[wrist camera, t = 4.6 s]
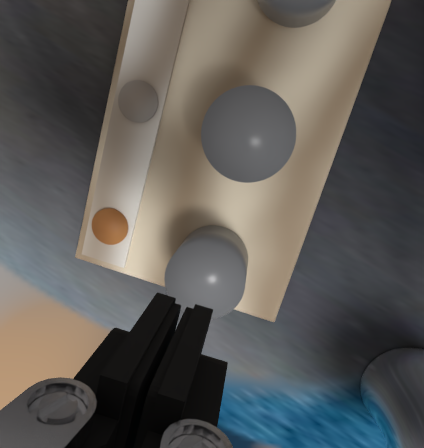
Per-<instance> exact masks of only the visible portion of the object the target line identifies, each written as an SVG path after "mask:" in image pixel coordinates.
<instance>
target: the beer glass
mask: <svg viewBox="0 0 424 448" xmlns="http://www.w3.org/2000/svg"><path fill="white" fill-rule="evenodd" d="M360 392H361V397H362V400H363V403H364V405H365V407H366V409H367V410H368V412H369V414H370V415H371V417H372V418H373V419H374V421H375V422H376V424H377V425H378V427H379V429H380V430H381V433H382V435H383V437H384V441H385V444H386V448H424V350H423V349H419V348H409V347H406V348H397V349H393V350H390V351H387V352H385V353H383V354H381V355H379V356H378V357H376V358H375V359H374V360H373V361H372V362H371V363H370V364H369V365H368V366H367V368H366V369H365V371H364V373H363V375H362V378H361V384H360Z"/></svg>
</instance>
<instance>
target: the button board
mask: <svg viewBox="0 0 424 448" xmlns="http://www.w3.org/2000/svg"><path fill="white" fill-rule="evenodd" d="M390 3H391V0H336V2H335V3H334V5H333V6H332V8H331V9H330V10H329V11H328V13H327V14H326V15H325V16H323V17H322V18H321V19H319V20H318V21H317V22H315V23H313V24H310V25H308V26H304V27H298V28H290V27H285V26H282V25H279V24H277V23H275V22H273V21H272V20H271V19H269V18H268V17H267V16H266V15H265V13H264V12H263V11H262V9H261V8H260V6H259V3H258V1H257V0H128V4H127V9H126V14H125V19H124V24H123V29H122V33H121V38H120V43H119V48H118V53H117V58H116V63H115V67H114V72H113V77H112V82H111V87H110V92H109V96H108V101H107V106H106V111H105V116H104V121H103V126H102V130H101V135H100V140H99V145H98V150H97V155H96V160H95V164H94V169H93V174H92V179H91V184H90V189H89V193H88V198H87V203H86V208H85V213H84V218H83V223H82V227H81V232H80V237H79V242H78V247H77V252H76V256H75V258H78V259H82V260H85V261H88V262H91V263H94V264H97V265H100V266H103V267H106V268H109V269H112V270H115V271H118V272H121V273H125V274H128V275H131V276H134V277H137V278H140V279H143V280H146V281H149V282H152V283H155V284H158V285H161V286H164V287H165V280H164V277H165V270H166V267H167V264H168V262H169V260H170V259H171V257H172V256H173V255H174V253H175V252H176V251H177V249H178V248H179V247H180V246H181V244H182V243H183V242H184V240H185V239H186V238H187V236H188V235H189V234H190V233H192V232H193V231H194V230H196V229H198V228H200V227H204V226H209V225H216V226H222V227H225V228H228V229H230V230H231V231H233V232H234V233H236V234H237V235H238V236H239V237H240V238H241V240H242V241H243V243H244V244H245V247H246V249H247V253H248V267H247V275H246V283H245V290H244V294H243V297H242V299H241V301H240V302H239V304H238V305H237V306H236V308H235V310H238V311H241V312H244V313H247V314H250V315H253V316H256V317H259V318H263V319H266V320H269V321H272V322H274V321H275V319H276V316H277V313H278V310H279V308H280V305H281V302H282V299H283V297H284V294H285V291H286V288H287V286H288V283H289V280H290V277H291V275H292V272H293V269H294V266H295V264H296V261H297V258H298V256H299V253H300V250H301V247H302V245H303V242H304V239H305V236H306V234H307V231H308V228H309V225H310V223H311V220H312V217H313V214H314V212H315V209H316V206H317V203H318V201H319V198H320V195H321V192H322V190H323V187H324V184H325V181H326V179H327V176H328V173H329V170H330V168H331V165H332V162H333V160H334V157H335V154H336V151H337V149H338V146H339V143H340V140H341V138H342V135H343V132H344V129H345V127H346V124H347V121H348V118H349V116H350V113H351V110H352V107H353V105H354V102H355V99H356V96H357V94H358V91H359V88H360V85H361V83H362V80H363V77H364V74H365V72H366V69H367V66H368V63H369V61H370V58H371V55H372V53H373V50H374V47H375V44H376V42H377V39H378V36H379V33H380V31H381V28H382V25H383V22H384V20H385V17H386V14H387V11H388V9H389V6H390ZM244 85H255V86H261V87H264V88H267V89H269V90H271V91H273V92H275V93H276V94H277V95H279V96H280V97H281V98H282V99H283V100H284V101H285V102H286V103H287V105H288V106H289V108H290V110H291V111H292V114H293V116H294V120H295V123H296V143H295V146H294V150H293V152H292V155H291V156H290V158H289V160H288V161H287V163H286V164H285V165H284V166H283V168H282V169H281V170H280V171H278V172H277V173H276V174H274V175H273V176H271V177H269V178H267V179H265V180H262V181H258V182H252V183H244V182H237V181H234V180H231V179H228V178H226V177H225V176H223V175H221V174H220V173H219V172H218V171H216V170H215V169H214V168H213V166H212V165H211V164H210V163H209V161H208V159H207V158H206V155H205V153H204V150H203V147H202V142H201V128H202V123H203V120H204V117H205V114H206V112H207V110H208V109H209V107H210V106H211V104H212V103H213V102H214V101H215V100H216V99H217V98H218V97H219V96H220V95H222V94H223V93H224V92H226V91H228V90H230V89H232V88H235V87H239V86H244Z"/></svg>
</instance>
